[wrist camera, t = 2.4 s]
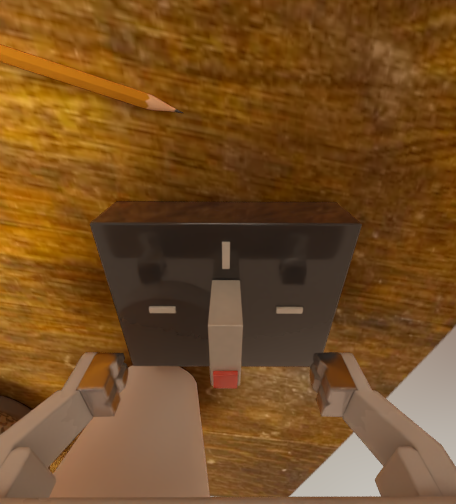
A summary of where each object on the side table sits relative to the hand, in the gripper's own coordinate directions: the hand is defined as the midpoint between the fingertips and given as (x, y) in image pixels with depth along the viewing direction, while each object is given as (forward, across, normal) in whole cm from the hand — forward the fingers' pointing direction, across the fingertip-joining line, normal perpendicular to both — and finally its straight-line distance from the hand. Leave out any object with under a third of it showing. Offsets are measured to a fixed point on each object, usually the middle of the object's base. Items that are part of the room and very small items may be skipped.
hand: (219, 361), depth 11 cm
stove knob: (+3, 0, 0) cm, 3 cm away
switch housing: (+6, 0, 0) cm, 6 cm away
